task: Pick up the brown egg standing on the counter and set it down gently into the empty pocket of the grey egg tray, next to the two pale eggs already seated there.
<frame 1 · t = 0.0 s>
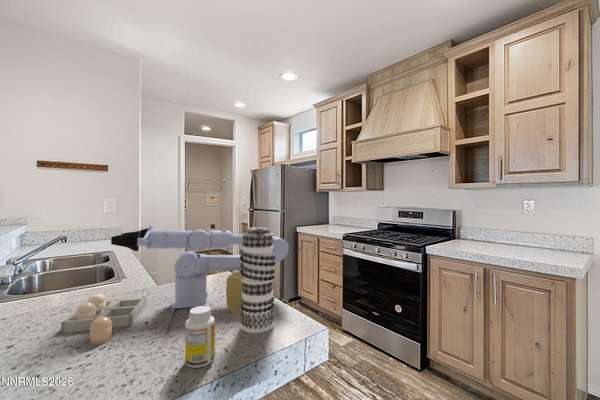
hand: (116, 238, 81), 21 cm above the counter, tool horizontal, fingers open, 7 cm apart
egg pale a: (96, 315, 76), resting on carton
carton: (108, 319, 74), on the counter
egg pale b: (86, 324, 70), resting on carton
egg: (101, 342, 62), on the counter
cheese: (248, 306, 85), on the counter, touching arm
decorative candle: (257, 326, 71), on the counter
supplement bottle: (200, 362, 55), on the counter
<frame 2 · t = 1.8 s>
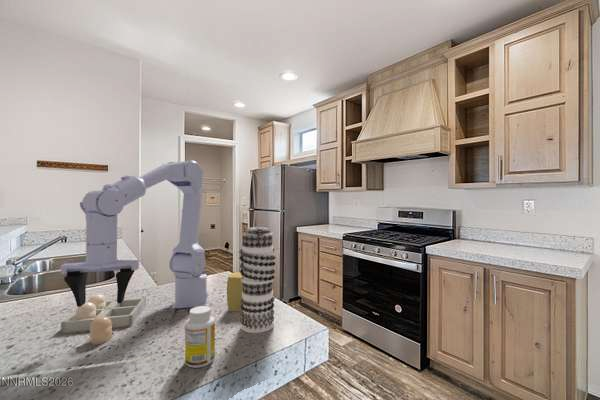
hand: (101, 303, 62), 9 cm above the counter, tool pointing down, fingers open, 7 cm apart
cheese: (248, 306, 85), on the counter
everything else where it was.
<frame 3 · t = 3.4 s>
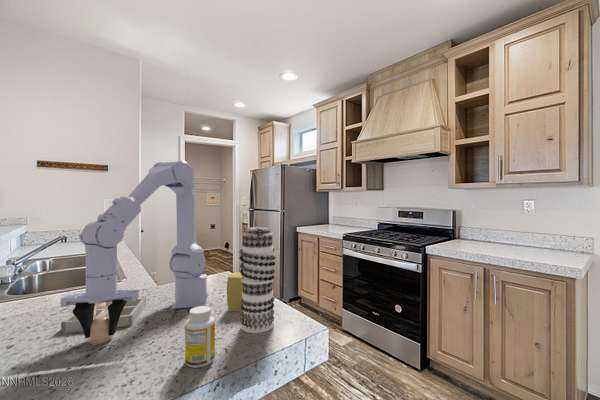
hand: (101, 334, 62), 2 cm above the counter, tool pointing down, fingers closed on egg, 4 cm apart
egg: (101, 342, 62), on the counter, touching gripper
everything else where it was.
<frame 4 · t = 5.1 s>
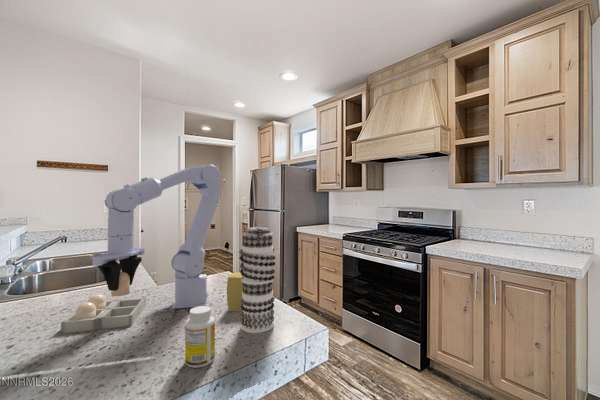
hand: (120, 287, 72), 9 cm above the counter, tool pointing down, fingers closed on egg, 4 cm apart
egg: (120, 293, 72), point 8 cm above the counter, touching gripper
everything else where it was.
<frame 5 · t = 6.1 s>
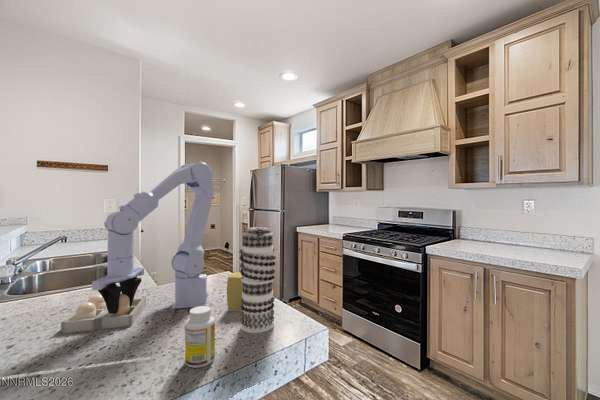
hand: (120, 309, 72), 4 cm above the counter, tool pointing down, fingers closed on egg, 4 cm apart
egg: (120, 315, 72), point 2 cm above the counter, touching gripper
everything else where it was.
when the fingers open (3 cm above the counter, at t = 7.0 s): egg drops 1 cm, resting on carton.
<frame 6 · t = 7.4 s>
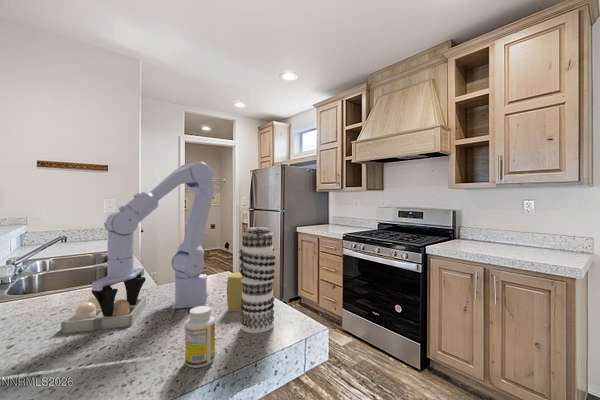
hand: (120, 310, 72), 3 cm above the counter, tool pointing down, fingers open, 7 cm apart
egg: (120, 321, 72), resting on carton
everything else where it was.
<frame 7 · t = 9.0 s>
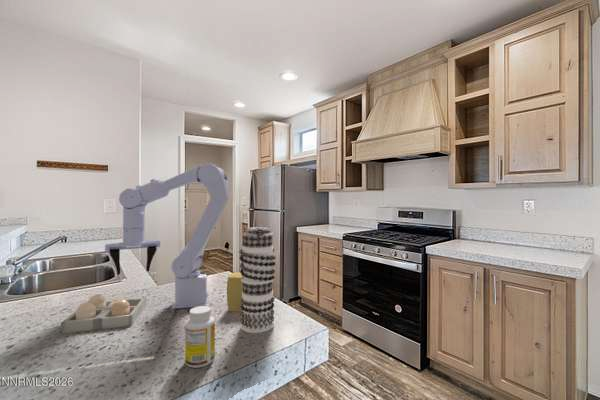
hand: (133, 272, 85), 10 cm above the counter, tool pointing down, fingers open, 7 cm apart
nothing on the counter moved.
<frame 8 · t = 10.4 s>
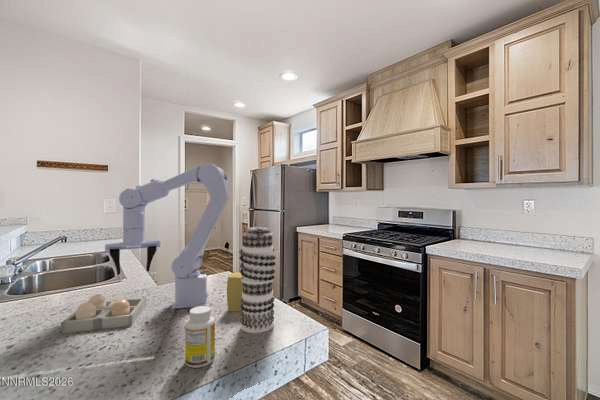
hand: (133, 272, 85), 10 cm above the counter, tool pointing down, fingers open, 7 cm apart
nothing on the counter moved.
at the end: egg 0.0 cm from the target spot on the carton, point 0.5 cm above the carton's base; egg tilted 0°; the gripper is holding nothing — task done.
